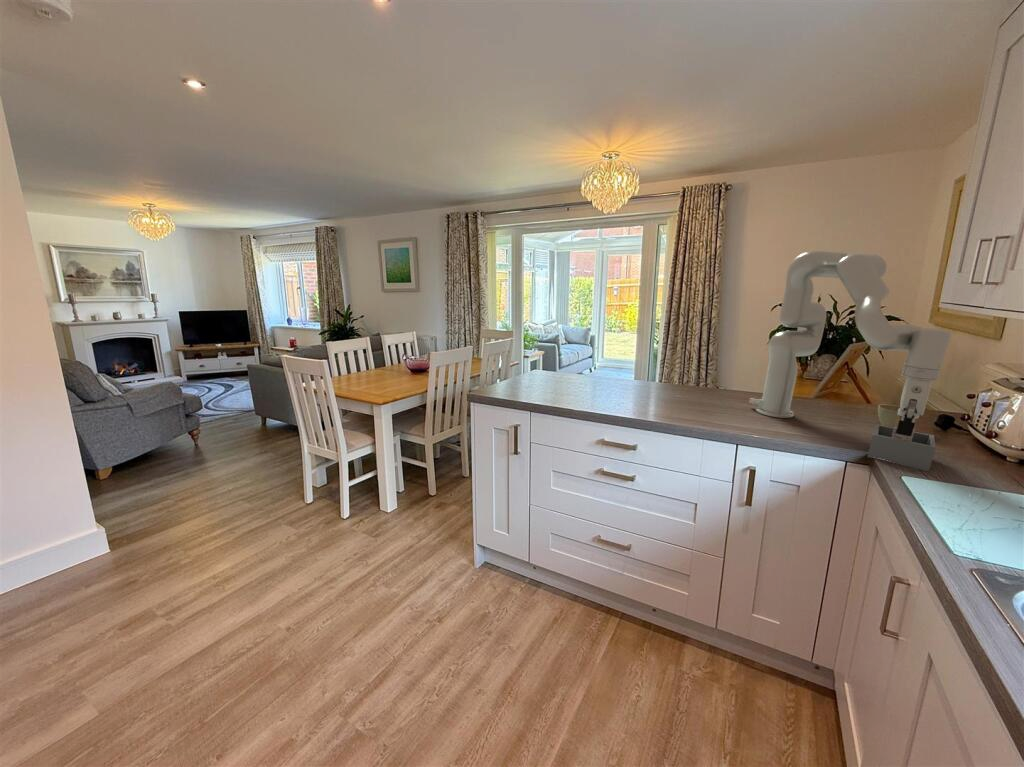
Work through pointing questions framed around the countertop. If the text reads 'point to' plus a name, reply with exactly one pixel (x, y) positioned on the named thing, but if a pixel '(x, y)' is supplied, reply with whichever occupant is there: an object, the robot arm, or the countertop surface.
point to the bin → (902, 448)
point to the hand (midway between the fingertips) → (903, 430)
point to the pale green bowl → (888, 414)
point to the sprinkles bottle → (894, 434)
